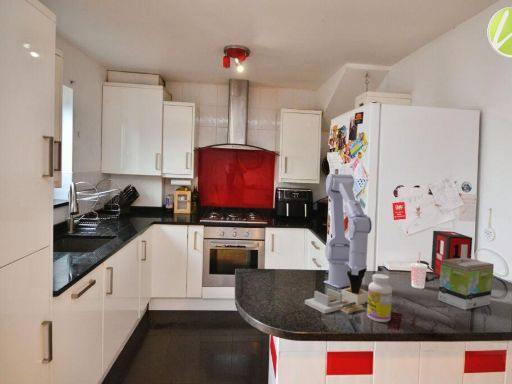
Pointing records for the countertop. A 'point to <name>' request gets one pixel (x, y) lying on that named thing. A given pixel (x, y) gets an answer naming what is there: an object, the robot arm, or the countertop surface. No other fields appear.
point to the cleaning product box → (449, 248)
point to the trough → (351, 307)
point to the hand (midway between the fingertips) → (356, 290)
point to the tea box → (465, 283)
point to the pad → (332, 299)
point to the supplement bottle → (379, 298)
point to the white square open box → (355, 296)
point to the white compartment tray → (326, 301)
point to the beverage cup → (418, 274)
